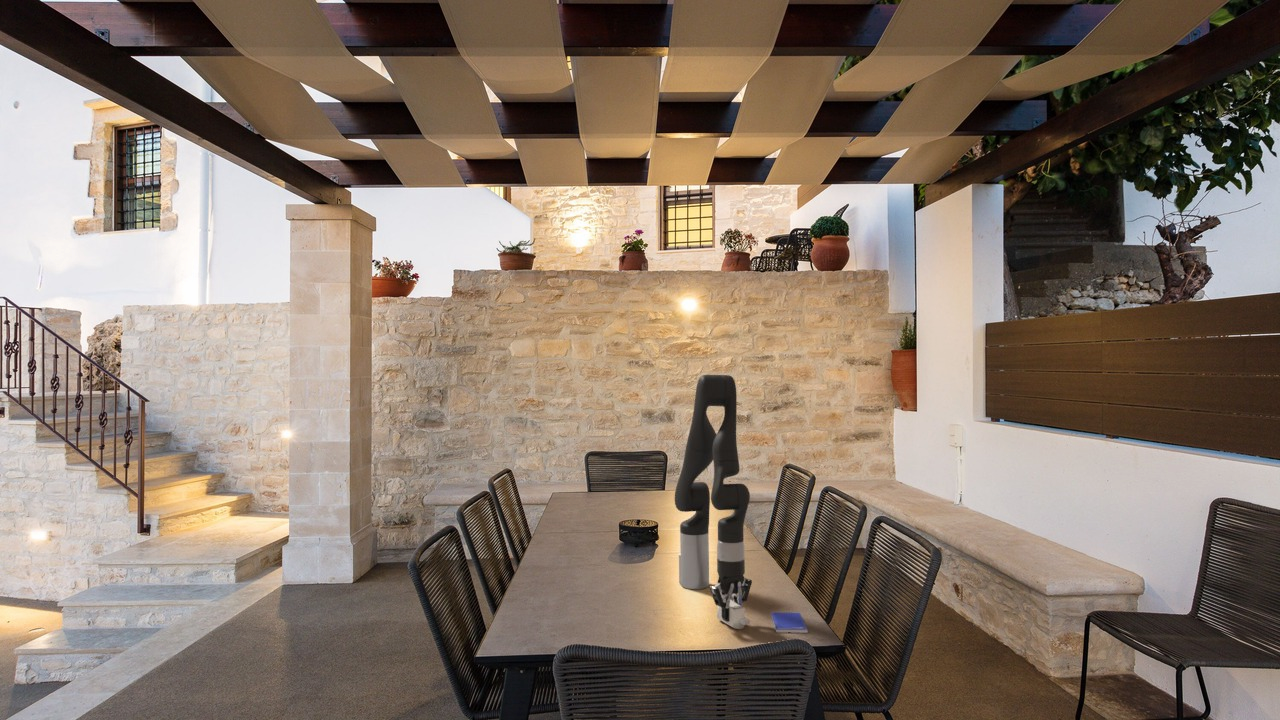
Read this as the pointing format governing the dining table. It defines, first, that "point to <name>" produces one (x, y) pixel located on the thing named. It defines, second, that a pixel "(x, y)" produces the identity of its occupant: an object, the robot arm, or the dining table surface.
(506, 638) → the dining table surface
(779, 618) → the hard drive
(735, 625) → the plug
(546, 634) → the dining table surface
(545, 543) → the dining table surface
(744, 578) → the robot arm
